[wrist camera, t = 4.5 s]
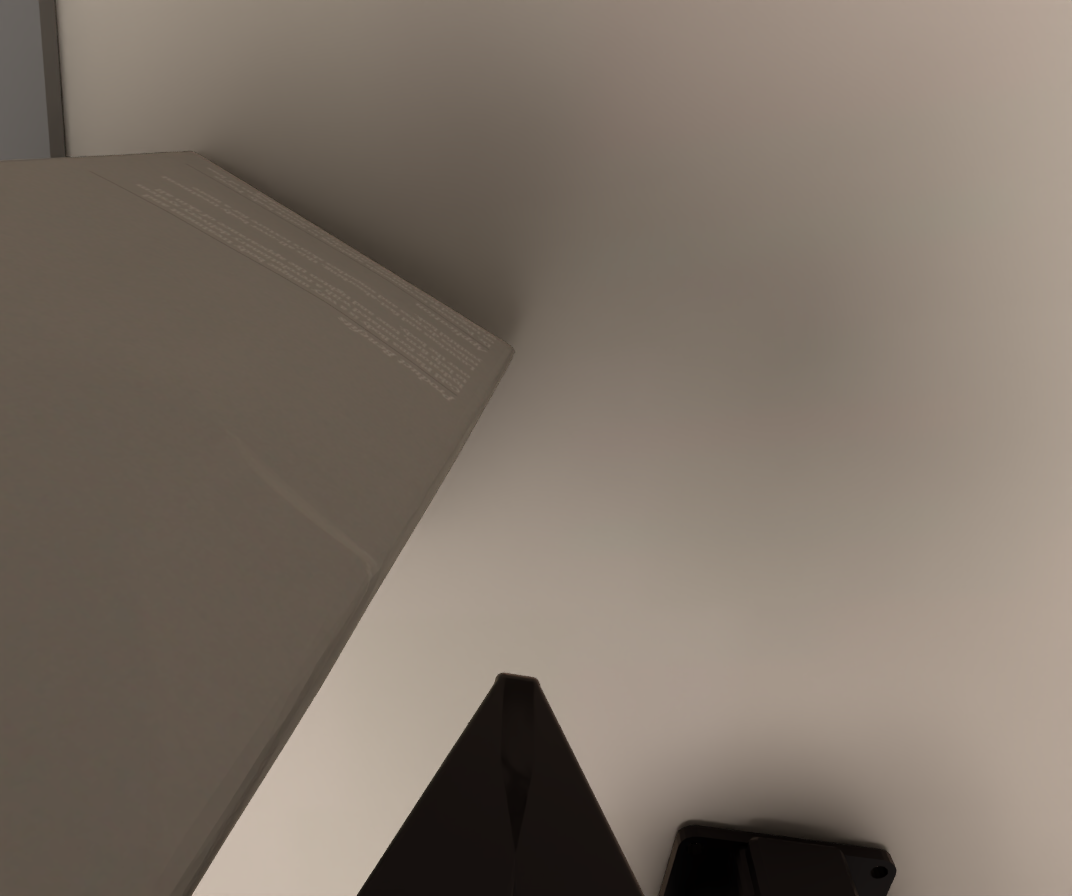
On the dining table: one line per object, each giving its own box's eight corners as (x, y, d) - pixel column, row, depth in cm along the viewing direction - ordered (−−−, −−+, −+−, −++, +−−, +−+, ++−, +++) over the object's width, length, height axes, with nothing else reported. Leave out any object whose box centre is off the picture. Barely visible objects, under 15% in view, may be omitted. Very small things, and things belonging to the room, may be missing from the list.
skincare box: (101, 382, 21) (-1249, 1005, 6) (212, 105, 18) (-1728, 112, 4) (405, 572, 21) (-227, 1560, 7) (559, 330, 19) (45, 1136, 4)
